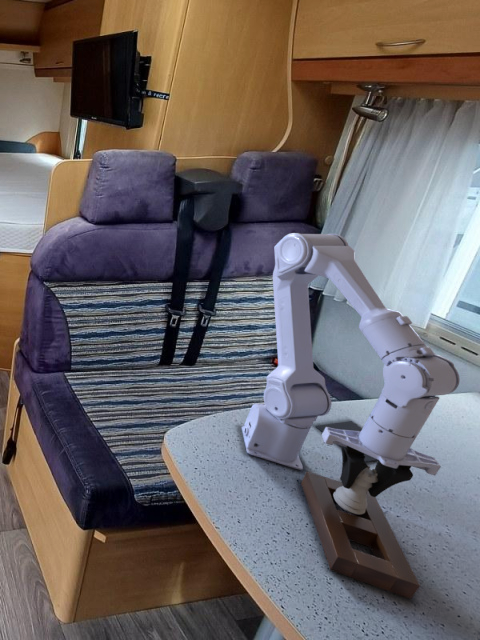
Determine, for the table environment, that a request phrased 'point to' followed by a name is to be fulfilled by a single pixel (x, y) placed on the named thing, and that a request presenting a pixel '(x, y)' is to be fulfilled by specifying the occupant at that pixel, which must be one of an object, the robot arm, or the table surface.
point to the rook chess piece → (356, 492)
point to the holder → (358, 539)
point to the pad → (346, 426)
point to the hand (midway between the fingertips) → (357, 487)
